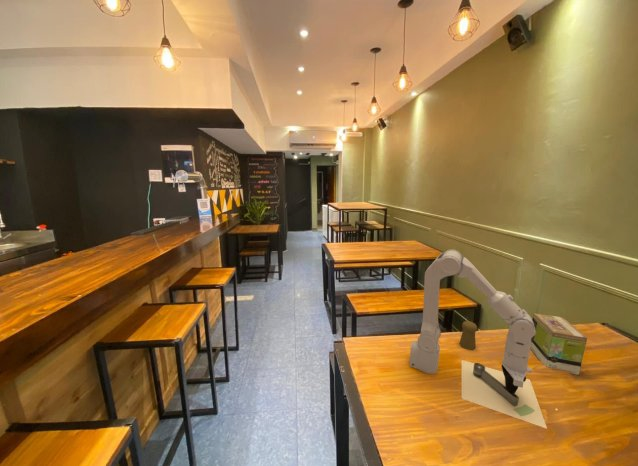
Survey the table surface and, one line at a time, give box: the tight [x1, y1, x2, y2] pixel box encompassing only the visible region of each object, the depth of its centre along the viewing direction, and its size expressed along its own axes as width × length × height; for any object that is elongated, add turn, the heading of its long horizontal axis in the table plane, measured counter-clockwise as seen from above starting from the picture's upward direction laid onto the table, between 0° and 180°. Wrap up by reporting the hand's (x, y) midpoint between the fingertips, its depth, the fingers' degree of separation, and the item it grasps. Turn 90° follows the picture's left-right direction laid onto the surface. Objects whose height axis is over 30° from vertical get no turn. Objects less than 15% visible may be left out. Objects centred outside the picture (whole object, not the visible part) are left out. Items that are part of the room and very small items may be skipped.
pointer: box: [473, 362, 519, 406], centre depth 81 cm, size 15×3×3 cm, turn 14°
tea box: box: [530, 312, 588, 376], centre depth 95 cm, size 15×10×15 cm
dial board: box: [461, 359, 548, 430], centre depth 81 cm, size 20×20×1 cm
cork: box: [459, 320, 478, 351], centre depth 102 cm, size 6×6×11 cm
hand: (510, 391), depth 78 cm, fingers closed
